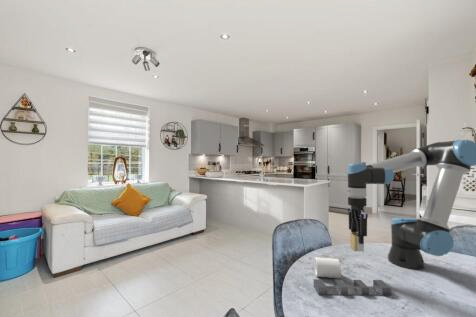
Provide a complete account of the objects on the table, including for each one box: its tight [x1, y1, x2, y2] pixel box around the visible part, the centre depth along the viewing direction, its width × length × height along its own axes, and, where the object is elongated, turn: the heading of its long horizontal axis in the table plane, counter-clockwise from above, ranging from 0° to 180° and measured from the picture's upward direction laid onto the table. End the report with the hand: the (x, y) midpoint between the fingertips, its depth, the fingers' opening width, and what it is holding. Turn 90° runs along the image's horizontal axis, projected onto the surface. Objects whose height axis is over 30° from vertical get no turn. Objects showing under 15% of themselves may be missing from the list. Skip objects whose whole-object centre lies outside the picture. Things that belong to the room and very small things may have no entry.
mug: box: [314, 256, 342, 280], centre depth 105 cm, size 12×10×8 cm
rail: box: [313, 278, 392, 297], centre depth 91 cm, size 28×6×3 cm, turn 89°
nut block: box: [349, 232, 358, 252], centre depth 103 cm, size 4×4×7 cm
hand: (357, 248), depth 103 cm, fingers closed on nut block, 4 cm apart
